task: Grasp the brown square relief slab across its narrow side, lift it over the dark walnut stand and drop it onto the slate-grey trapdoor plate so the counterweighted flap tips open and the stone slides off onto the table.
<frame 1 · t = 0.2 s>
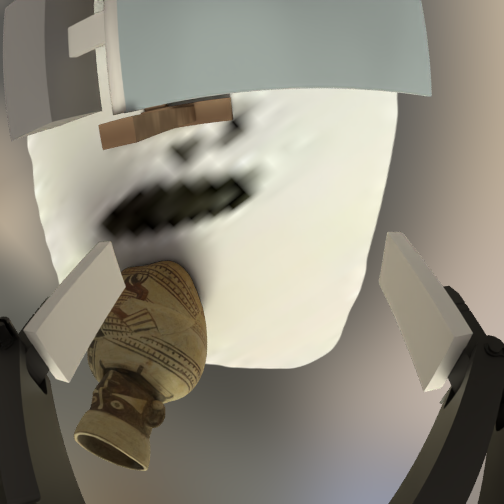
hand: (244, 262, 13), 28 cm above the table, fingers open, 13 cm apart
trapdoor: (185, 0, 14), point 18 cm above the table, hinge at 4.0°
trapdoor frame: (179, 50, 31), on the table
ceramic vessel: (165, 300, 51), on the table
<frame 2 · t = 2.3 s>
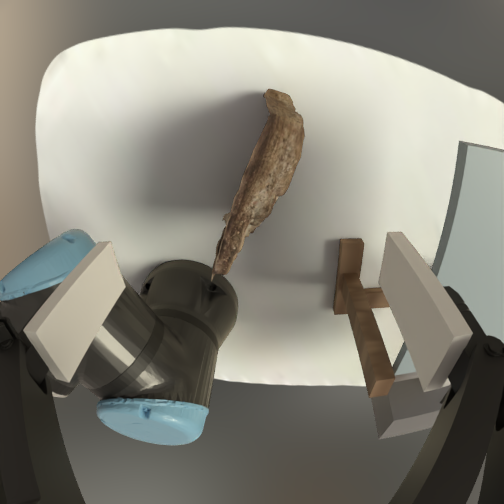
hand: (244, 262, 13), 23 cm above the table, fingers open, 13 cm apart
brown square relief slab: (259, 157, 34), on the table
trapdoor: (476, 326, 21), point 18 cm above the table, hinge at 4.0°
trapdoor frame: (404, 272, 40), on the table
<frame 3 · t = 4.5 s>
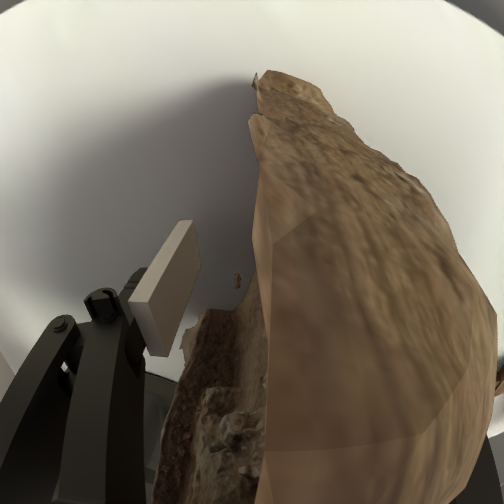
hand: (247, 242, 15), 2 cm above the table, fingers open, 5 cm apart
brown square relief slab: (249, 226, 17), on the table, touching gripper
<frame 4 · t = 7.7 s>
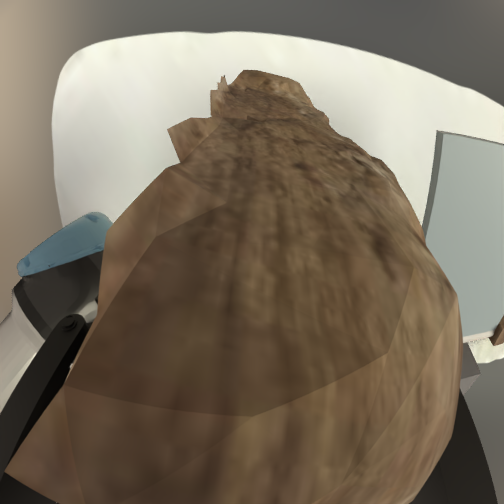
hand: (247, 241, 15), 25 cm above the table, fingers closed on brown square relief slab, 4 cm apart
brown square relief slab: (244, 225, 17), point 23 cm above the table, touching gripper
trapdoor: (464, 302, 24), point 18 cm above the table, hinge at 4.0°
when the fingers open (24 cm above the table, at t = 10.6 s): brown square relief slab drops 15 cm, point 7 cm above the table.
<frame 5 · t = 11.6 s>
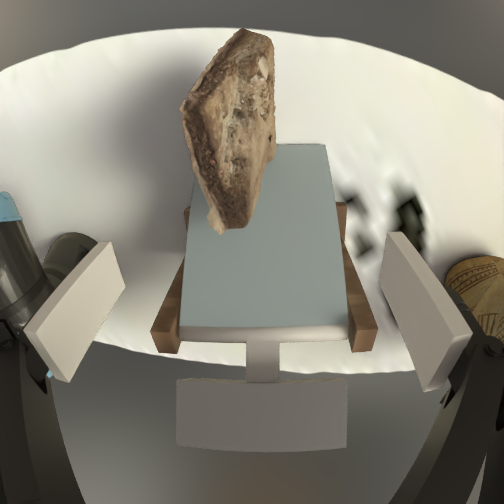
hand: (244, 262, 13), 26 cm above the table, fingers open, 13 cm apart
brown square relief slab: (251, 183, 31), point 7 cm above the table
trapdoor: (263, 274, 29), point 13 cm above the table, hinge at -52.4°
trapdoor frame: (267, 243, 42), on the table
ceramic vessel: (473, 284, 44), on the table
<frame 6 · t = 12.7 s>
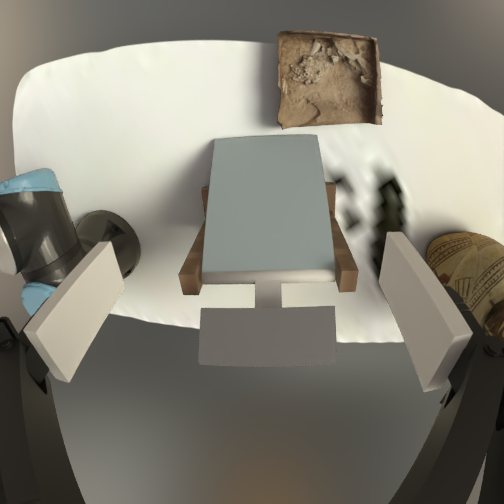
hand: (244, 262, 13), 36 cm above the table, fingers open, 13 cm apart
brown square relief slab: (333, 126, 40), point 2 cm above the table
trapdoor: (267, 231, 37), point 13 cm above the table, hinge at -52.3°
trapdoor frame: (270, 217, 51), on the table
ceramic vessel: (454, 259, 52), on the table
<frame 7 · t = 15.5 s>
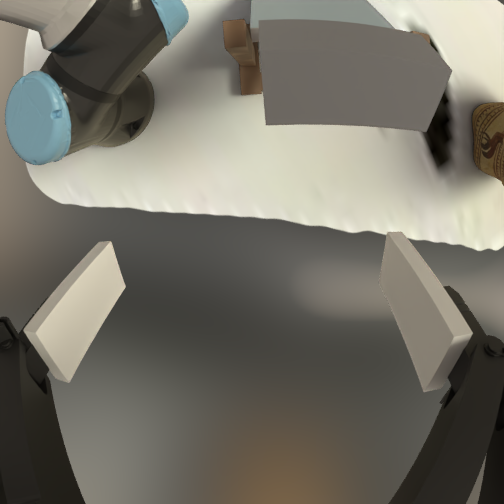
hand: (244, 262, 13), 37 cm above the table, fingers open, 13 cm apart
trapdoor: (321, 16, 24), point 13 cm above the table, hinge at -52.3°
trapdoor frame: (309, 57, 38), on the table
ceramic vessel: (498, 139, 39), on the table
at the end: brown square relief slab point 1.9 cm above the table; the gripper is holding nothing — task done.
